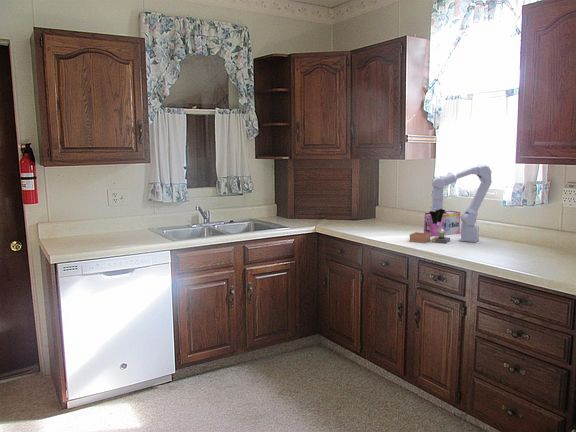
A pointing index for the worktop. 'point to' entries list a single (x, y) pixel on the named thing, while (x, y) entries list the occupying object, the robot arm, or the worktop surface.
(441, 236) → the battery cell
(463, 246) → the worktop surface
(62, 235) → the worktop surface
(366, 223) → the worktop surface
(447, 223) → the gum box
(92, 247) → the worktop surface
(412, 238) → the cup
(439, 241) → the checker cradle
